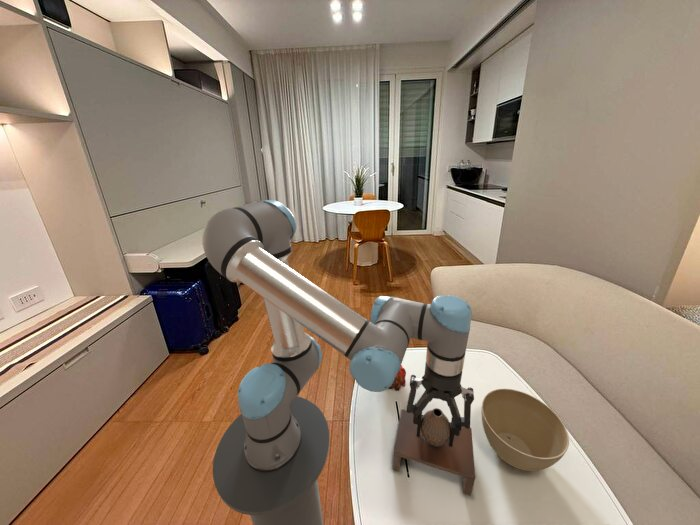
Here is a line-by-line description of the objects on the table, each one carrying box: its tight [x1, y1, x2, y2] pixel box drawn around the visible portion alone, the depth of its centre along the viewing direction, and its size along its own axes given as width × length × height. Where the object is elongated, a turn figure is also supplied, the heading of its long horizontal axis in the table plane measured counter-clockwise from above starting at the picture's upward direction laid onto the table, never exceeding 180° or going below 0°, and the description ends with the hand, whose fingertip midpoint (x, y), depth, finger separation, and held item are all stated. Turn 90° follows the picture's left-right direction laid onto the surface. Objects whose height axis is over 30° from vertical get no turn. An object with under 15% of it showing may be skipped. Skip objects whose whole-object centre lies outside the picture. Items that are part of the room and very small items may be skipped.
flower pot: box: [481, 388, 570, 472], centre depth 67 cm, size 18×18×12 cm
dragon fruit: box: [387, 364, 407, 392], centre depth 90 cm, size 8×8×12 cm
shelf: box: [392, 408, 476, 497], centre depth 67 cm, size 18×12×7 cm, turn 71°
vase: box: [421, 407, 451, 446], centre depth 64 cm, size 7×7×9 cm
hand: (434, 436), depth 66 cm, fingers closed on vase, 7 cm apart
